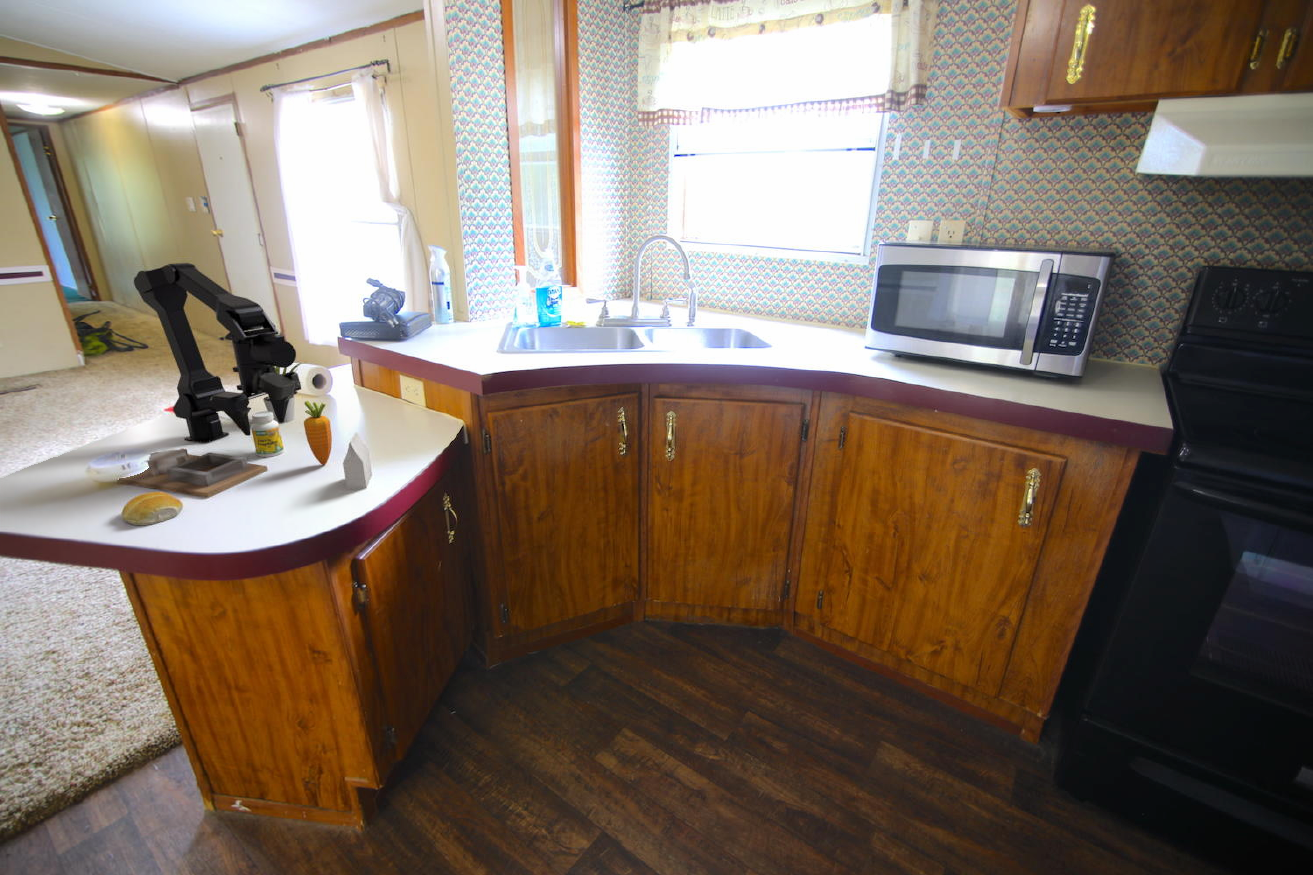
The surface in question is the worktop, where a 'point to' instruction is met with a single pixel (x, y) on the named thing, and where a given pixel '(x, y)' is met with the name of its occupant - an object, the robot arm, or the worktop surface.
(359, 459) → the gray house shaped block
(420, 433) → the worktop surface
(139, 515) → the bread roll
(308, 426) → the carrot
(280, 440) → the supplement bottle
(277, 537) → the worktop surface
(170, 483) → the carrier plate
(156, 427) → the worktop surface
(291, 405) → the house plant
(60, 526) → the worktop surface
